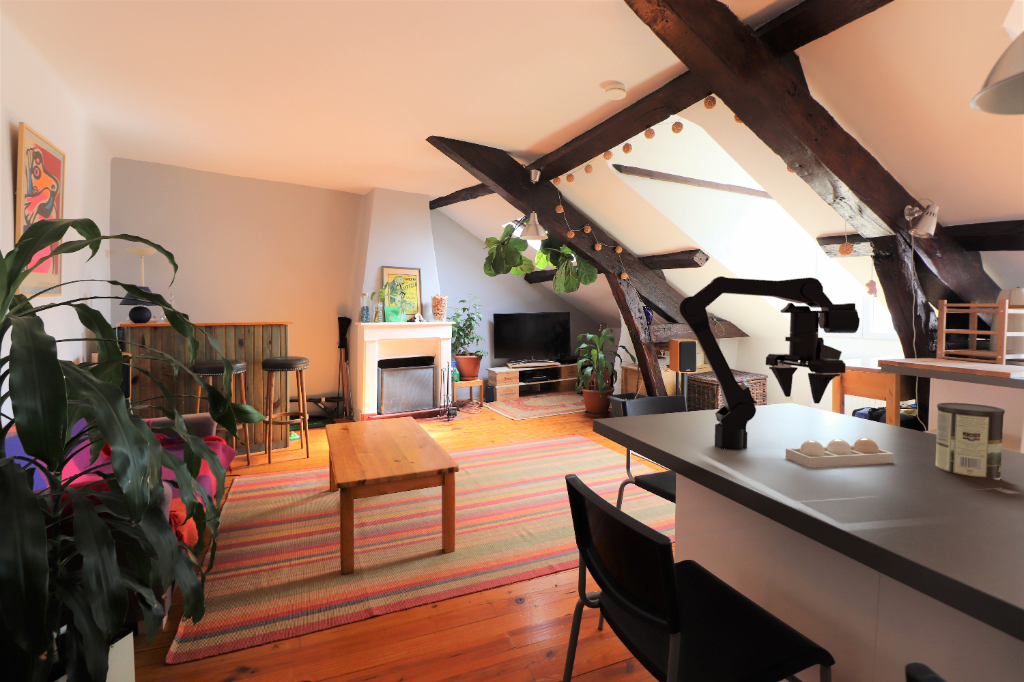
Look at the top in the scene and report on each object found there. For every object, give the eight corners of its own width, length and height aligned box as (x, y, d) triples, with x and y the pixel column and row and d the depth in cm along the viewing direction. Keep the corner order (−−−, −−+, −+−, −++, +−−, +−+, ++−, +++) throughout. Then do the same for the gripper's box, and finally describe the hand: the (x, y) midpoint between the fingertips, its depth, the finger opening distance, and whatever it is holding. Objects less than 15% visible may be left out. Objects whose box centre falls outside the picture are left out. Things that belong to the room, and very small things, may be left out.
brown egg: (864, 463, 109) (867, 442, 109) (847, 455, 114) (849, 435, 113) (882, 462, 110) (885, 441, 109) (864, 454, 115) (867, 434, 114)
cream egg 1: (810, 465, 107) (811, 443, 107) (794, 458, 112) (795, 438, 111) (829, 464, 108) (830, 442, 108) (813, 457, 112) (814, 437, 112)
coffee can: (977, 468, 109) (981, 403, 108) (1014, 484, 98) (1019, 412, 98) (922, 465, 111) (926, 401, 110) (953, 480, 101) (957, 410, 100)
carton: (809, 471, 106) (809, 457, 105) (785, 461, 113) (785, 448, 113) (893, 467, 109) (893, 453, 109) (864, 457, 116) (865, 444, 116)
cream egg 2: (837, 463, 108) (838, 442, 108) (821, 457, 113) (821, 437, 112) (856, 462, 109) (857, 441, 109) (839, 456, 113) (840, 436, 113)
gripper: (869, 334, 109) (866, 406, 110) (804, 331, 127) (802, 392, 128) (823, 334, 107) (820, 407, 108) (765, 331, 125) (763, 393, 126)
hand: (801, 399), depth 118 cm, fingers open, 9 cm apart
